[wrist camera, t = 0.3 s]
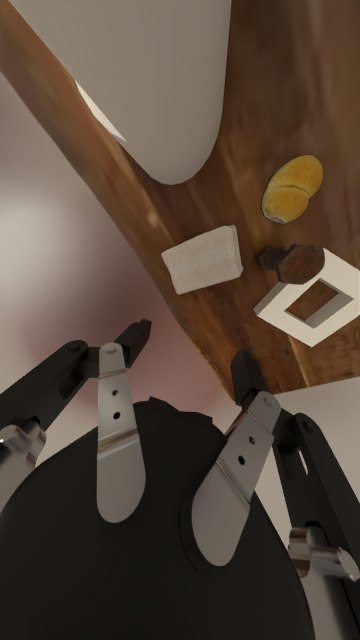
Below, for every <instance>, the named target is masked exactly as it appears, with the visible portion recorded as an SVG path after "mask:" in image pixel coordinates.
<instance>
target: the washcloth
mask: <svg viewBox="0 0 360 640" xmlns="http://www.w3.org/2000/svg"><path fill="white" fill-rule="evenodd" d="M161 255H162V258H163V260H164V263H165V264H166V266H167V268H168V270H169V272H170V275H171V279H172V282H173V285H174V287H175V290H176V292H177V294H182V293H186V292H188V291H192V290H196V289H200V288H202V287H207V286H209V285H214V284H216V283H221V282H223V281H227V280H232V279H235V278H238V277H240V274H241V273H242V271H243V267H242V265H241V259H240V252H239V245H238V238H237V231H236V227H235V226H234V225H232V226H222V227H219V228H217V229H215V230H212V231H209V232H206V233H203V234H201V235H199V236H197V237H195V238H192V239H190V240H188V241H185V242H183V243H182V244H180V245H177V246H175V247H173V248H170V249H168V250H166V251H165V252H163V253H161Z"/></svg>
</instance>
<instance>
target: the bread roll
mask: <svg viewBox="0 0 360 640" xmlns="http://www.w3.org/2000/svg"><path fill="white" fill-rule="evenodd" d="M322 178H323V168H322V165H321V163H320V162H319V160H318V159H317V158H315V157H313V156H310V155H304V156H300V157H297V158H295V159H293V160H291V161H289V162H288V163H286V164H285V165H284V166H282V167H281V168H280V169H279V170H278V171H277V172H276V174H275V175H274V176H273V177H272V179H271V180H270V182H269V184H268V187H267V189H266V191H265V193H264V196H263V201H262V211H263V213H264V215H265V217H266V218H268V219H270V220H272V221H275V222H278V223H284V224H285V223H287V222H289V221H292V220H294V219H296V218H298V217H299V216H300V215H301V214H302V213H303V212H304V210H305V209H306V207H307V205H308V199H309V198H310V197H311V196H312V195H313V194H314V193H315V192H316V191H317V190H318V189H319V187H320V185H321V182H322Z"/></svg>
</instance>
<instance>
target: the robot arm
mask: <svg viewBox="0 0 360 640" xmlns="http://www.w3.org/2000/svg"><path fill="white" fill-rule="evenodd" d="M150 330H151V321H149V320H146V319H142V320H141V321H140V323H137V322H135V323H133V324H131V325H130V326H129V327H128V328H127V329H126V330H125V331H124V332H123V333H122V334H121V335H120V336H119V337H118V338H117V339H116V340H115V341H114V342H113V343H108V344H105V345H103V346H102V347H88V345H87V343H86V342H85V341H81V340H75V341H71V342H68V343H66V344H65V345H64V346H62V347H61V348H60V349H58V350H57V351H56V352H54V353H53V354H52V355H51V356H49V357H48V358H47V359H45V360H44V361H43V362H41V363H40V364H39V365H38V366H36V367H35V368H34V369H32V370H31V371H30V372H29V373H27V374H26V375H25V376H23V377H22V378H21V379H19V380H18V381H17V382H15V383H14V384H13V385H12V386H10V387H9V388H8V389H7V390H5V391H4V392H3V393H1V394H0V640H360V503H359V501H358V499H357V497H356V495H355V493H354V491H353V490H352V488H351V486H350V484H349V482H348V480H347V478H346V476H345V475H344V473H343V471H342V469H341V467H340V465H339V463H338V461H337V459H336V457H335V456H334V454H333V452H332V450H331V448H330V446H329V444H328V442H327V441H326V439H325V437H324V435H323V433H322V431H321V429H320V428H319V426H318V425H317V424H316V423H315V422H314V421H313V420H312V419H311V418H310V417H308V416H307V415H305V414H303V413H297V414H295V415H292V414H291V413H289V412H287V411H286V410H284V409H283V408H281V406H280V404H279V402H278V401H277V400H276V398H275V397H274V396H273V395H271V394H270V393H269V392H268V390H267V387H266V384H265V381H264V379H263V376H262V373H261V371H260V368H259V365H258V364H257V362H256V361H255V360H254V359H252V357H251V354H250V352H249V351H245V350H242V349H239V350H238V352H237V353H236V355H235V357H234V358H233V360H232V362H231V375H232V382H233V389H234V396H235V403H236V405H238V406H241V407H242V411H241V412H240V413H239V415H238V416H237V417H236V419H235V420H234V421H233V423H232V424H231V426H230V427H229V429H228V430H227V431H226V432H225V434H223V433H222V432H221V431H220V430H219V429H218V428H217V427H216V426H215V425H214V424H212V417H209V416H206V415H203V414H201V413H198V412H182V411H179V410H177V409H176V408H174V407H173V406H171V405H170V404H168V403H167V402H165V401H163V400H160V399H157V398H154V397H151V396H150V398H149V401H140V402H136V403H132V398H131V392H130V386H129V380H128V374H127V370H126V369H125V367H126V368H130V367H131V366H132V364H133V363H134V361H135V360H136V358H137V357H138V355H139V353H140V352H141V350H142V349H143V347H144V346H145V344H146V342H147V341H148V339H149V336H150ZM88 378H98V381H99V382H98V384H99V385H98V426H97V427H95V428H94V429H92V430H91V431H89V432H88V433H86V434H85V435H83V436H82V437H80V438H79V439H77V440H76V441H74V442H73V443H71V444H70V445H68V446H67V447H65V448H63V449H62V450H60V451H59V452H57V453H56V454H54V455H53V456H51V457H50V458H48V459H47V460H45V461H44V462H42V463H41V464H40V465H39V466H37V467H36V468H35V464H36V460H37V458H38V455H39V454H40V452H41V451H42V449H43V447H44V445H45V443H46V434H45V431H46V430H47V429H48V427H49V426H50V425H51V424H52V423H53V421H54V420H55V419H56V418H57V416H58V415H59V414H60V412H62V410H63V409H64V408H65V407H66V405H67V404H68V403H69V402H70V400H71V399H72V398H73V397H74V396H75V394H76V393H77V392H78V391H79V389H80V388H81V387H82V386H83V384H84V383H85V382H86V381H87V380H88ZM271 445H272V448H273V452H274V456H275V460H276V464H277V468H278V473H279V476H280V480H281V484H282V489H283V493H284V497H285V501H286V505H287V509H288V513H289V518H290V522H291V525H292V530H291V531H290V535H289V543H290V544H289V545H288V551H287V549H286V548H285V546H284V544H283V542H282V540H281V538H280V536H279V535H278V533H277V531H276V529H275V527H274V526H273V524H272V522H271V520H270V518H269V516H268V514H267V512H266V511H265V509H264V507H263V505H262V503H261V501H260V500H259V498H258V496H257V494H256V492H255V490H254V489H255V486H256V484H257V481H258V479H259V476H260V473H261V471H262V468H263V466H264V463H265V461H266V458H267V456H268V453H269V451H270V448H271ZM299 451H301V453H302V455H303V458H304V460H305V463H306V466H307V469H308V475H307V474H306V471H305V469H304V466H303V463H302V461H301V458H300V455H299Z"/></svg>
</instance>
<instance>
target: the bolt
mask: <svg viewBox="0 0 360 640" xmlns="http://www.w3.org/2000/svg"><path fill="white" fill-rule="evenodd" d="M258 259H259V260H258V262H259V263H260V266H261V269H263V270H270V271H276V273H277V278H278V281H279V282H281V283H286V284H294V285H303V284H305V283H307V282H308V281H310V280H311V279H313V278H314V277H315V276H316V275H318V274H319V273H320V271H321V270H322V269H323V268H324V264H325V253H324V249H323V247H322V246H316V245H298V244H293V245H292V246H291V247H290V248H289V249H288V250H287V251H286V248H285V247H276V246H269V247H268V248H266V249H265V250H264V251H262V252H261V253H260V254H259V256H258Z"/></svg>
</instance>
